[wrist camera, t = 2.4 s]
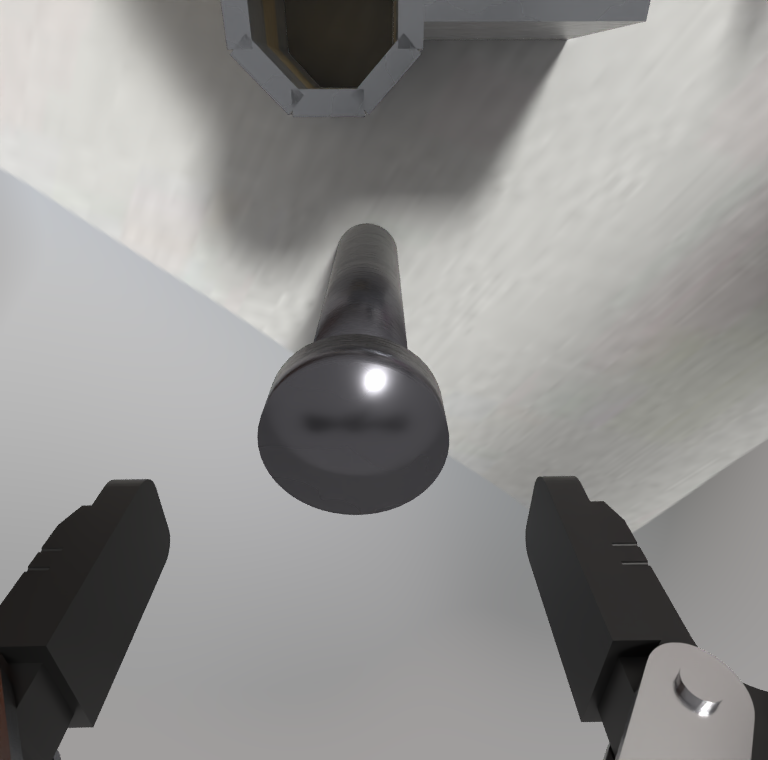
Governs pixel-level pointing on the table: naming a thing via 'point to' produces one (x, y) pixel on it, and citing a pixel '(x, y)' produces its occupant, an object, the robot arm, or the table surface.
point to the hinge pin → (356, 395)
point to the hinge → (404, 42)
